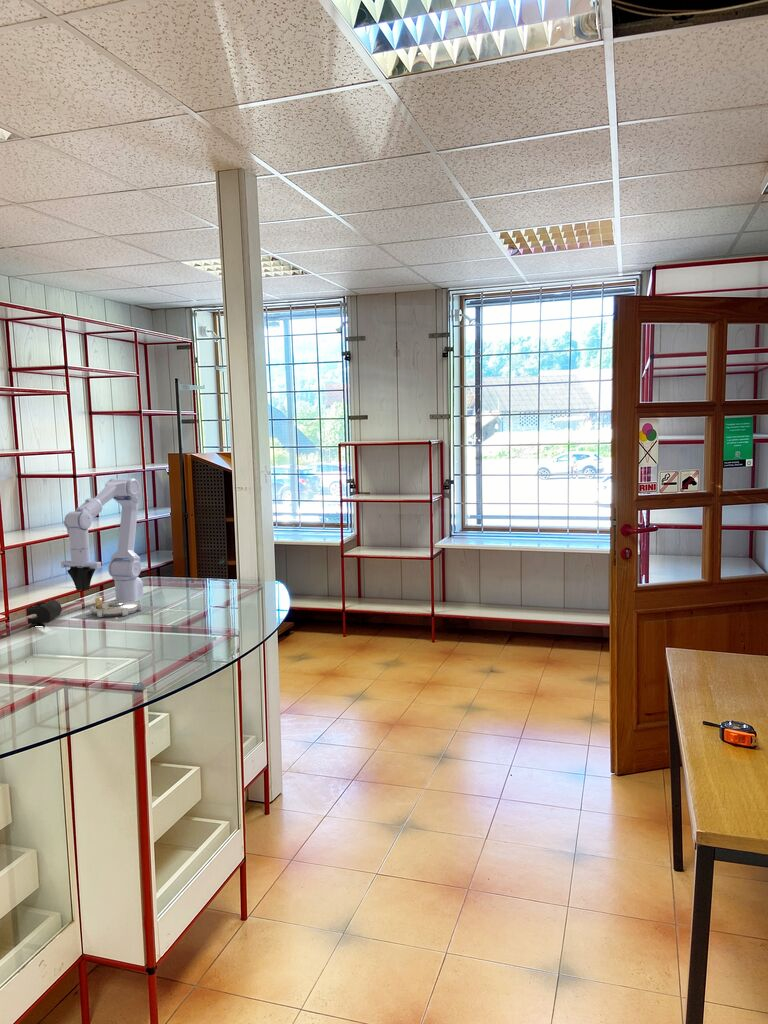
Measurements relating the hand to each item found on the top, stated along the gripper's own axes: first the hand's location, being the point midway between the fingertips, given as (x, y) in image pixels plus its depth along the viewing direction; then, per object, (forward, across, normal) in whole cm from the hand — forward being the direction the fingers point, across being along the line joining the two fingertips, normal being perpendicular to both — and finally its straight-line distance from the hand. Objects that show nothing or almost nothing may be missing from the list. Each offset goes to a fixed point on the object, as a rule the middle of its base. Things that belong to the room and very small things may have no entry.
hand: (82, 590), depth 235 cm
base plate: (+9, +9, +4) cm, 14 cm away
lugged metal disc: (+8, +9, +4) cm, 13 cm away
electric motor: (+10, -8, -8) cm, 15 cm away
